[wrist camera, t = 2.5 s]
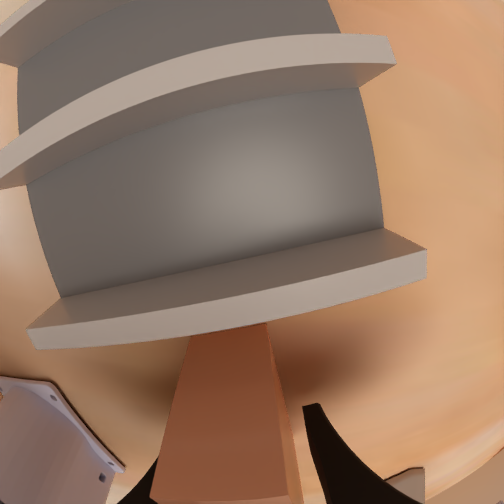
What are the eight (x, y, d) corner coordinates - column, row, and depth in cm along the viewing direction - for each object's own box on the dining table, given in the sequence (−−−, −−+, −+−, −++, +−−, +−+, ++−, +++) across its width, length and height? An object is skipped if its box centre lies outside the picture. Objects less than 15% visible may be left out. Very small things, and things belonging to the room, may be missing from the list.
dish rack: (373, 242, 10) (426, 278, 6) (80, 304, 10) (36, 349, 7) (300, -30, 6) (318, -82, 3) (31, 59, 7) (-18, 41, 3)
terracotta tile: (293, 435, 13) (310, 544, 6) (240, 443, 13) (240, 550, 6) (265, 321, 10) (288, 495, 4) (191, 335, 11) (149, 497, 4)
